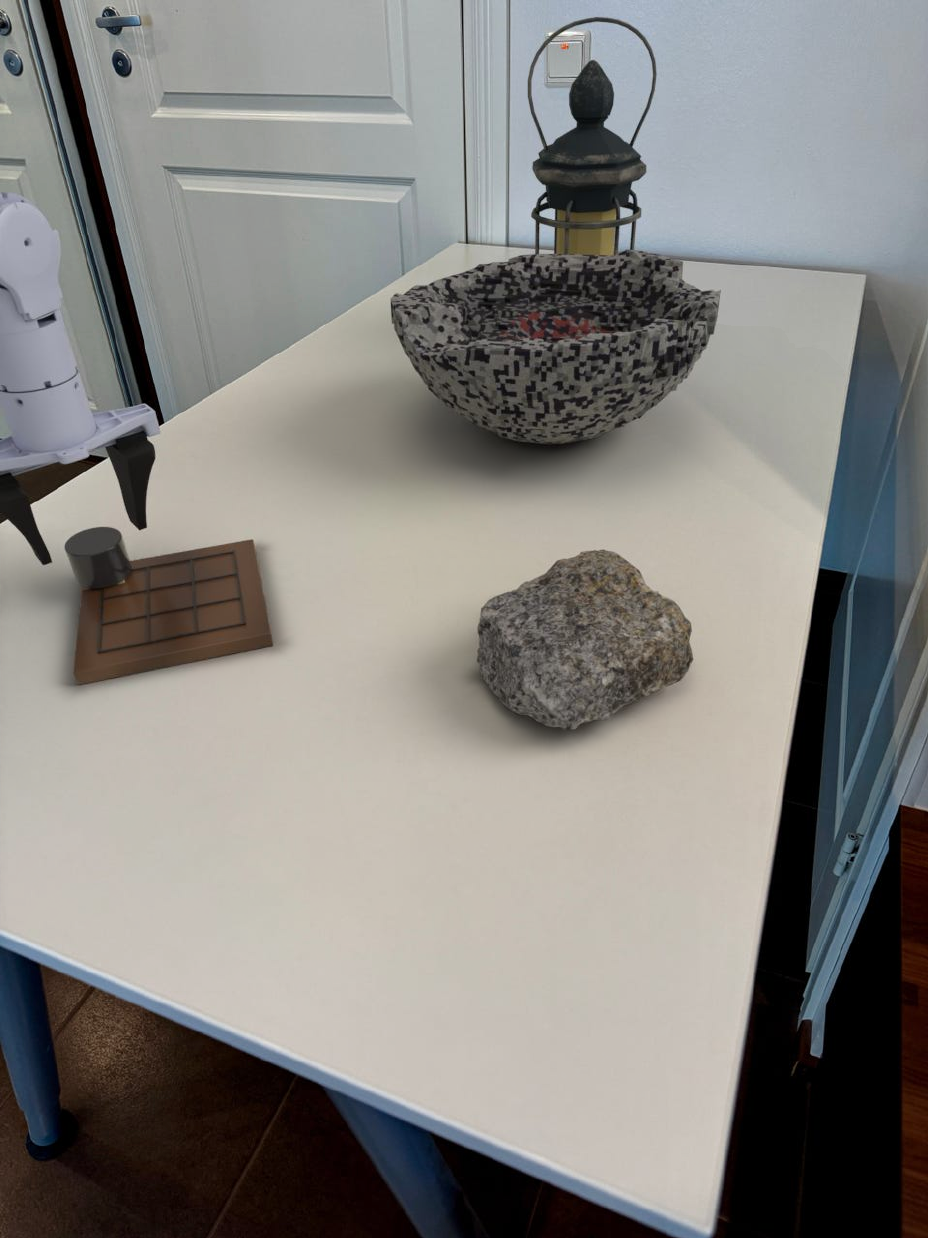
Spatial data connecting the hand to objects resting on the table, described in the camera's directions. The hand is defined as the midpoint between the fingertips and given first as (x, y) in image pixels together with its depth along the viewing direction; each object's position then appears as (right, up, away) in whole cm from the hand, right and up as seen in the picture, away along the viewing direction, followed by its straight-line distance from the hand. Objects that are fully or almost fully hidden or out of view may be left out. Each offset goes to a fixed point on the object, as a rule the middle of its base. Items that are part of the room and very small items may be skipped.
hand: (92, 541), depth 70 cm
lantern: (+45, +30, +45) cm, 70 cm away
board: (+7, -6, 0) cm, 9 cm away
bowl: (+39, +14, +24) cm, 48 cm away
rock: (+38, -10, -7) cm, 40 cm away
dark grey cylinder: (0, -3, +2) cm, 3 cm away
